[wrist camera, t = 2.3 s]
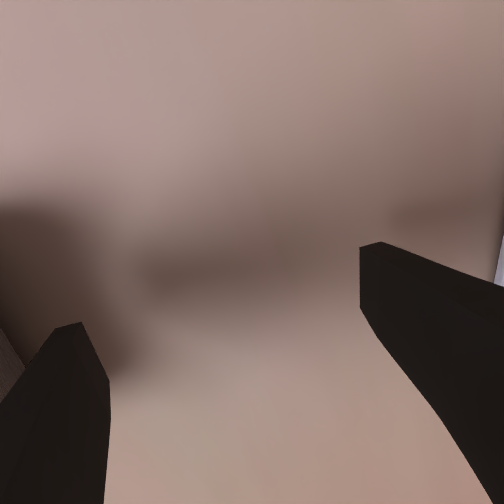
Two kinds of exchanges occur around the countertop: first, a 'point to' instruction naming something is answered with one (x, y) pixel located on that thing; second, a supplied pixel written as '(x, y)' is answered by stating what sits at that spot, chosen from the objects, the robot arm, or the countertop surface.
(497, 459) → the robot arm
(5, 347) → the trolley
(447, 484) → the countertop surface
